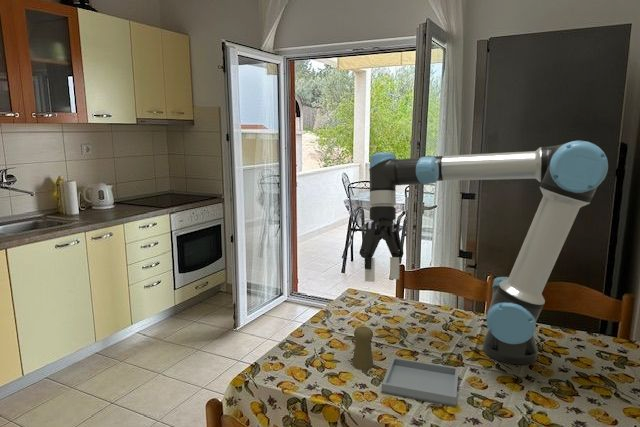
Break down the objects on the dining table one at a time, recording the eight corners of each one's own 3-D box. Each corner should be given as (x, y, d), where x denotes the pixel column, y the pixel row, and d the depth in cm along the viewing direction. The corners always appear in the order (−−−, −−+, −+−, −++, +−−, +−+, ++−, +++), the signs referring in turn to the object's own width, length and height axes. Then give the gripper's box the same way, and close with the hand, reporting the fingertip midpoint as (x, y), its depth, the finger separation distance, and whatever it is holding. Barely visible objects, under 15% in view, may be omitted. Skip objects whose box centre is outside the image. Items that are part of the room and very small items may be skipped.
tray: (458, 376, 119) (458, 367, 119) (455, 407, 105) (456, 397, 105) (392, 365, 125) (392, 356, 125) (381, 392, 111) (381, 383, 111)
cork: (372, 371, 122) (373, 333, 120) (350, 368, 123) (351, 331, 122) (374, 360, 128) (375, 324, 126) (353, 358, 129) (354, 323, 127)
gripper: (393, 210, 140) (393, 277, 138) (346, 203, 120) (346, 281, 119) (414, 209, 135) (415, 278, 133) (370, 202, 116) (370, 283, 114)
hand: (382, 280), depth 126 cm, fingers open, 13 cm apart
